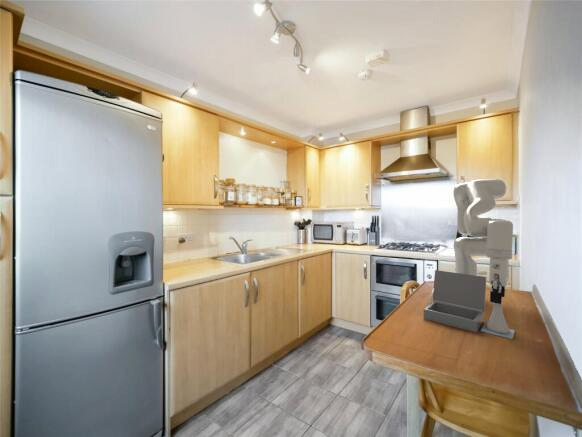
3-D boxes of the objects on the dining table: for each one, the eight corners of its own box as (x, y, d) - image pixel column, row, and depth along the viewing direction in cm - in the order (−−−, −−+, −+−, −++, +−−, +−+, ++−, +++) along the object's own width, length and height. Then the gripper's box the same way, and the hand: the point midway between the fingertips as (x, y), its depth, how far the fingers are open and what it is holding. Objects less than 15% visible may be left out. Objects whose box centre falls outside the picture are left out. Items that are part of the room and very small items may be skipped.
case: (434, 309, 119) (434, 299, 119) (483, 321, 107) (483, 309, 107) (423, 318, 109) (423, 307, 109) (476, 332, 96) (476, 319, 96)
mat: (484, 324, 104) (484, 323, 104) (514, 331, 97) (514, 330, 97) (480, 331, 97) (480, 330, 97) (512, 339, 91) (512, 338, 91)
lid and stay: (434, 301, 122) (434, 269, 122) (485, 312, 108) (486, 276, 108) (428, 306, 115) (428, 272, 115) (482, 318, 102) (482, 280, 102)
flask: (486, 324, 103) (487, 298, 103) (510, 329, 98) (511, 303, 98) (483, 330, 97) (484, 303, 97) (509, 336, 92) (509, 307, 92)
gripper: (509, 258, 88) (508, 308, 89) (514, 252, 101) (512, 296, 102) (482, 255, 94) (481, 302, 94) (489, 249, 106) (488, 291, 107)
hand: (497, 299), depth 98 cm, fingers open, 9 cm apart
